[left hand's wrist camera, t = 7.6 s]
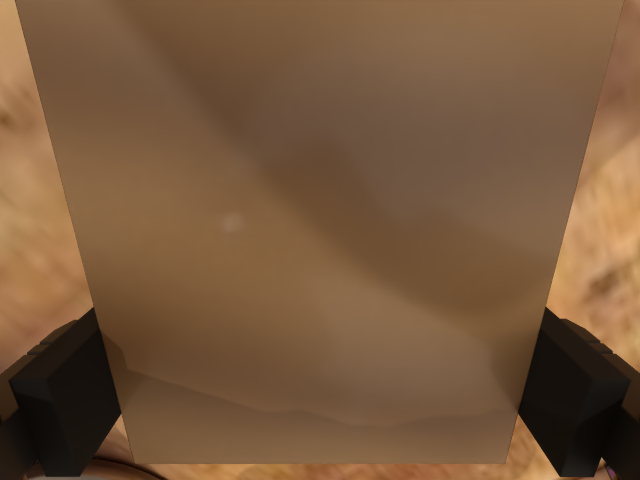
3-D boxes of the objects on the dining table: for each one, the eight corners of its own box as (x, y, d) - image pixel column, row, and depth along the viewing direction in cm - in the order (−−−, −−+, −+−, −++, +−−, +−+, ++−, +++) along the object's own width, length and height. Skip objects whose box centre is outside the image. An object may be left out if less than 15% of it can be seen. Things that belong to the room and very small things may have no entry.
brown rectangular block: (168, -182, 12) (-241, -978, 3) (470, -181, 12) (877, -975, 3) (221, 298, 19) (133, 464, 10) (417, 298, 19) (505, 464, 10)
